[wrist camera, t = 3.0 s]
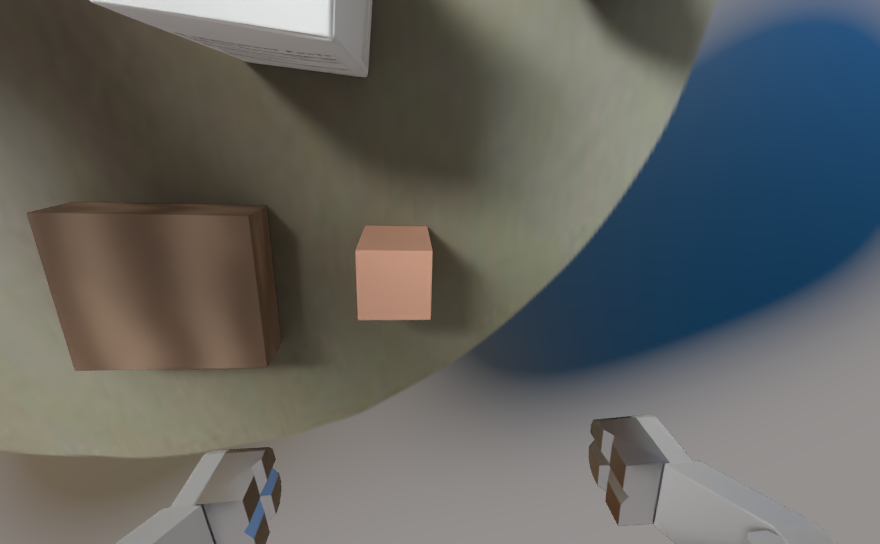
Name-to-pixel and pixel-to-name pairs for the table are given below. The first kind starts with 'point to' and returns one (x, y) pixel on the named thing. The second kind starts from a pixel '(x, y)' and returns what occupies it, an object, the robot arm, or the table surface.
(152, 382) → the table surface
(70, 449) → the table surface
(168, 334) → the walnut stand
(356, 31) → the supplement box
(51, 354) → the table surface
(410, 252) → the terracotta block
